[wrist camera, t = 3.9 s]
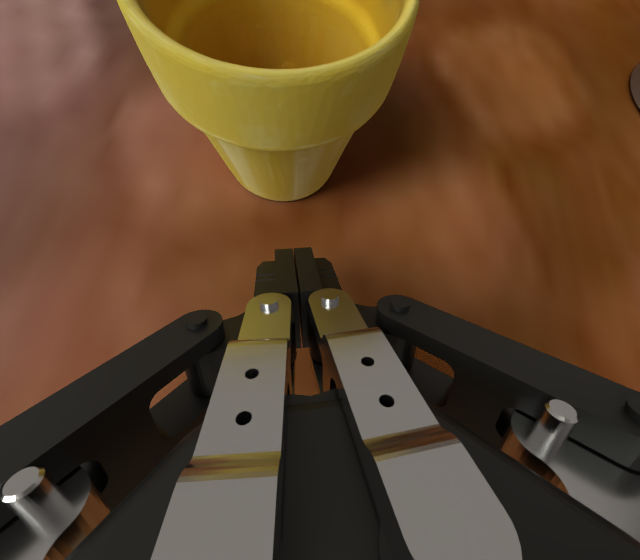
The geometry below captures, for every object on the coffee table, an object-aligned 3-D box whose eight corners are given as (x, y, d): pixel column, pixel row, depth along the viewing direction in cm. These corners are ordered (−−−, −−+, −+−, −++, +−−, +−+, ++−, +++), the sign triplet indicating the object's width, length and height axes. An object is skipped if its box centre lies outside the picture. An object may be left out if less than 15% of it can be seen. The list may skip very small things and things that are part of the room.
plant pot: (244, 71, 21) (207, -167, 12) (382, 126, 21) (456, -71, 11) (166, 188, 18) (31, -4, 9) (325, 255, 18) (363, 131, 8)
